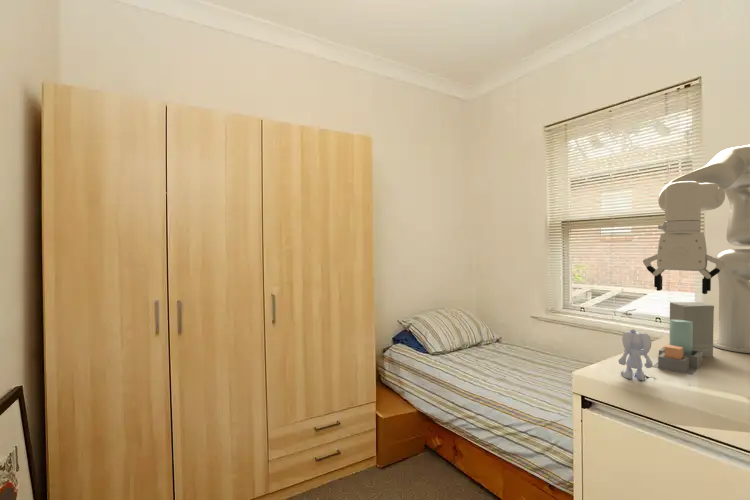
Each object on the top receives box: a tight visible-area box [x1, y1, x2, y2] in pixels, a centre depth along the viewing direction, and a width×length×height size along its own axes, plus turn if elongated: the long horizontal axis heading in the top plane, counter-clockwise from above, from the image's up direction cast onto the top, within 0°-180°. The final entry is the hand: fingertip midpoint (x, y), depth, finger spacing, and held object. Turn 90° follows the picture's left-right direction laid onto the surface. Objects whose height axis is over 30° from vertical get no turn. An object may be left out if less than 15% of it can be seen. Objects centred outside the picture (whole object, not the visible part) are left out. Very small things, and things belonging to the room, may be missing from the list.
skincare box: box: [669, 301, 715, 358], centre depth 111 cm, size 8×7×16 cm
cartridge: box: [669, 319, 693, 355], centre depth 102 cm, size 5×5×11 cm
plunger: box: [664, 344, 683, 360], centre depth 96 cm, size 3×3×5 cm
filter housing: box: [651, 345, 703, 376], centre depth 100 cm, size 15×8×4 cm, turn 132°
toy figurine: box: [617, 328, 654, 382], centre depth 92 cm, size 7×6×12 cm
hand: (681, 291), depth 102 cm, fingers open, 9 cm apart
